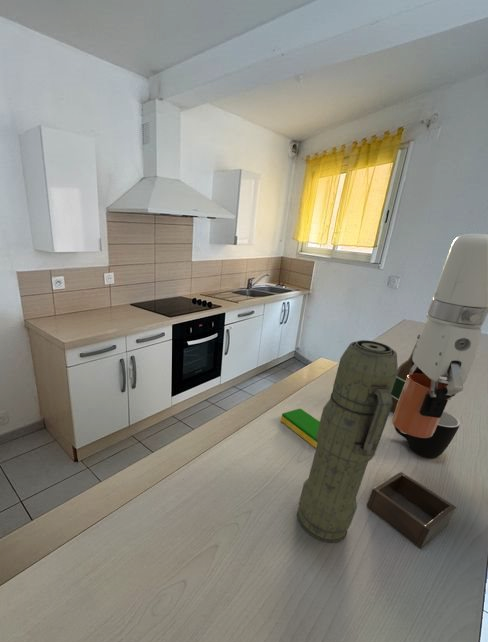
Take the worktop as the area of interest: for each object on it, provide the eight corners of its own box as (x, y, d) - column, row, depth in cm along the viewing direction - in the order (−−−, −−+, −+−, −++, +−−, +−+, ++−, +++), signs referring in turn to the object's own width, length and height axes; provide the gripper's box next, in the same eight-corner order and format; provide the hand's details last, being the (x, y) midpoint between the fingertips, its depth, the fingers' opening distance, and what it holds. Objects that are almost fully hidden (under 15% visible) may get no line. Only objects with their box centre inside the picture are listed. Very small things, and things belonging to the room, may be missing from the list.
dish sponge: (319, 451, 78) (321, 443, 77) (279, 420, 89) (281, 413, 88) (339, 443, 81) (341, 436, 80) (298, 415, 92) (300, 407, 91)
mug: (442, 446, 82) (457, 413, 78) (446, 467, 75) (463, 431, 71) (388, 430, 88) (400, 398, 84) (388, 448, 81) (400, 414, 77)
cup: (439, 431, 61) (459, 385, 58) (422, 442, 58) (442, 394, 54) (402, 413, 67) (418, 370, 63) (384, 422, 63) (400, 377, 59)
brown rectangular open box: (447, 524, 60) (456, 507, 59) (420, 548, 56) (429, 530, 54) (394, 487, 68) (400, 471, 67) (366, 505, 63) (372, 488, 62)
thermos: (325, 493, 66) (372, 331, 52) (363, 547, 55) (434, 362, 42) (284, 497, 64) (322, 332, 51) (316, 554, 54) (374, 363, 40)
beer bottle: (390, 400, 103) (415, 329, 94) (417, 411, 98) (447, 337, 89) (380, 407, 99) (405, 334, 89) (408, 420, 93) (438, 342, 84)
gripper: (518, 331, 45) (468, 436, 52) (454, 303, 61) (422, 386, 68) (458, 325, 46) (417, 427, 53) (410, 299, 62) (383, 381, 69)
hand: (420, 404), depth 60 cm, fingers closed on cup, 6 cm apart
